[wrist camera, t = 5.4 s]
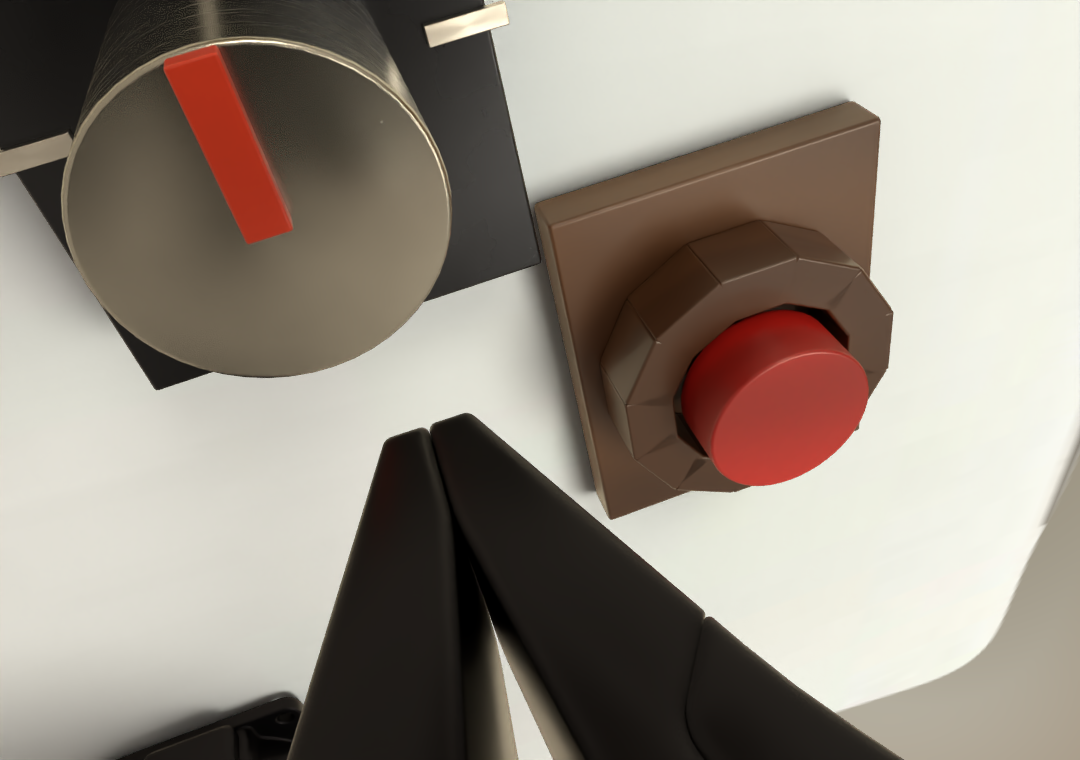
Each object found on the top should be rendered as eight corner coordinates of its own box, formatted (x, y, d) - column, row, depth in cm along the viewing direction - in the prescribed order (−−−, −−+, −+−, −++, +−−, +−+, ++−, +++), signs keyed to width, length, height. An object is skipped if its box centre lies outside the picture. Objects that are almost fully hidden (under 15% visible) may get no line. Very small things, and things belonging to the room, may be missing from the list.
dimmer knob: (421, 168, 16) (493, 328, 12) (181, 243, 15) (172, 437, 11) (339, -99, 13) (399, -7, 9) (42, -16, 12) (-36, 121, 8)
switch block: (838, 405, 27) (895, 470, 25) (596, 493, 26) (632, 568, 24) (853, 98, 21) (933, 148, 18) (532, 202, 20) (574, 268, 18)
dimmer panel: (523, 205, 20) (559, 263, 18) (146, 326, 19) (139, 402, 17) (393, -369, 13) (425, -381, 11) (-190, -224, 12) (-267, -208, 10)
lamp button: (827, 409, 23) (865, 453, 22) (686, 461, 23) (716, 508, 21) (832, 285, 20) (875, 326, 19) (672, 341, 20) (705, 387, 19)
